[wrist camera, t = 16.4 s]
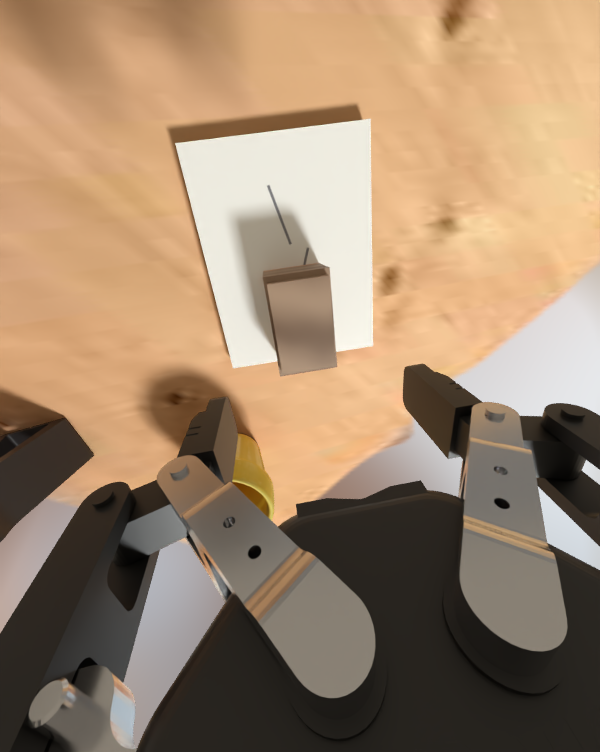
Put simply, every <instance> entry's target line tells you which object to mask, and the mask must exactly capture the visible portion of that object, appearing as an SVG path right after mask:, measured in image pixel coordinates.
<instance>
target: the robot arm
mask: <svg viewBox="0 0 600 752" xmlns="http://www.w3.org/2000/svg"><path fill="white" fill-rule="evenodd" d="M403 402H404V405H405V407H406V409H407V410H408V412H409V413H410V414H411V415H412V416H413V418H414V419H415V420H416V421H417V422H418V424H419V425H420V426H421V427H422V428H423V430H424V431H425V432H426V433H427V434H428V435H429V437H430V438H431V439H432V440H433V441H434V443H435V444H436V445H437V446H438V447H439V449H440V450H441V451H442V452H443V453H444V455H445V456H446V457H447V458H448V459H450V458H456V457H462V459H463V462H462V468H461V478H460V486H459V495H458V497H456V496H453V495H450V494H447V493H443V492H438V491H429V490H427V489H426V488H425V486H424V485H423V483H422V482H421V481H416V482H410V483H406V484H400V485H395V486H390V487H388V488H386V489H384V490H382V491H379V492H377V493H375V494H373V495H370V496H368V497H366V498H364V499H332V498H326V499H321V500H316V501H311V502H305V503H300V504H296V508H297V515H296V516H293V517H291V518H290V519H288V520H286V521H285V522H283V523H282V524H281V525H280V526H278V527H277V526H276V525H275V524H274V523H273V522H272V521H271V520H270V519H269V518H268V517H267V516H266V515H265V514H264V513H263V512H262V511H261V510H260V509H259V508H258V507H257V506H256V505H255V504H254V503H253V502H251V501H250V500H249V499H248V498H247V497H246V496H245V495H244V494H243V493H242V492H241V491H240V490H239V489H238V488H237V487H236V486H235V485H234V484H233V483H232V480H233V473H234V465H235V457H236V449H237V441H238V431H237V426H236V422H235V419H234V415H233V412H232V408H231V405H230V401H229V399H228V397H221V398H216V399H210V400H209V403H208V406H207V409H206V411H205V412H199V413H198V414H197V415H196V416H195V417H194V418H193V419H192V421H191V423H190V426H189V430H188V431H187V433H186V437H185V439H184V441H183V444H182V446H181V449H180V451H179V454H178V456H177V458H176V459H174V460H172V461H170V462H168V463H167V464H166V465H165V466H164V467H163V468H162V469H161V470H160V471H159V473H158V475H157V480H155V481H153V482H151V483H148V484H146V485H143V486H141V487H139V488H136V489H134V490H131V489H130V488H129V486H128V484H126V483H124V482H114V483H110V484H108V485H105V486H103V487H101V488H99V489H97V490H96V491H94V492H93V493H92V494H90V495H89V496H88V497H87V498H86V499H85V500H84V501H83V502H82V503H81V505H80V506H79V508H78V510H77V511H76V513H75V514H74V516H73V518H72V519H71V521H70V522H69V524H68V526H67V527H66V529H65V530H64V532H63V534H62V535H61V537H60V538H59V540H58V542H57V543H56V545H55V547H54V548H53V550H52V551H51V553H50V555H49V556H48V558H47V559H46V562H45V563H44V564H43V566H42V568H41V569H40V571H39V572H38V574H37V575H36V577H35V579H34V580H33V582H32V583H31V585H30V587H29V588H28V590H27V591H26V593H25V595H24V596H23V598H22V600H21V601H20V603H19V604H18V606H17V608H16V609H15V611H14V612H13V614H12V616H11V617H10V619H9V620H8V622H7V624H6V625H5V627H4V628H3V630H2V632H1V633H0V752H600V570H598V569H596V568H594V567H592V566H590V565H589V564H587V563H585V562H583V561H581V560H579V559H577V558H575V557H573V556H571V555H569V554H567V553H566V552H564V551H562V550H560V549H558V548H556V547H554V546H552V545H550V544H548V543H547V539H546V533H545V527H544V521H543V515H542V509H541V503H540V497H539V492H538V487H540V488H541V490H543V491H544V492H545V493H546V494H547V495H548V496H549V497H550V498H551V499H552V500H553V501H554V502H555V503H556V504H557V505H558V506H559V507H560V508H561V509H562V510H563V511H564V512H565V513H566V514H567V515H568V516H569V517H570V518H571V519H572V520H573V521H574V522H575V523H576V524H577V525H578V526H579V527H580V528H581V529H582V530H583V531H584V532H585V533H587V535H588V536H590V537H591V538H592V539H593V540H594V541H595V542H596V543H597V544H598V545H599V546H600V485H599V484H598V483H596V482H595V481H594V480H593V479H591V478H590V477H589V476H588V475H586V474H585V473H584V472H583V471H581V470H582V468H583V466H584V463H585V461H586V460H588V461H589V462H590V463H592V464H593V465H594V466H596V467H597V468H598V469H600V416H599V415H598V414H596V413H594V412H592V411H590V410H588V409H586V408H583V407H580V406H576V405H571V404H564V403H556V404H550V405H548V406H546V408H545V410H544V413H543V416H542V417H541V416H519V414H518V413H517V412H516V411H515V410H514V409H512V408H510V407H508V406H505V405H502V404H499V403H492V402H482V401H480V400H479V399H478V398H476V397H475V396H474V395H472V394H471V393H470V392H468V391H467V390H466V389H463V388H462V387H461V386H460V385H459V384H456V383H455V381H453V380H452V379H451V378H449V377H448V376H446V375H443V374H440V373H438V372H434V371H432V370H431V369H430V368H429V367H427V366H426V365H425V364H418V365H412V366H407V367H405V369H404V381H403ZM183 538H186V540H187V542H188V543H189V545H190V546H191V548H192V549H193V551H194V553H195V554H196V556H197V557H198V558H199V560H200V562H201V564H202V565H203V567H204V568H205V570H206V571H207V573H208V575H209V576H210V578H211V579H212V581H213V583H214V585H215V587H216V588H217V590H218V592H219V594H220V595H221V597H222V599H223V600H224V602H225V604H224V606H223V607H222V609H221V610H220V612H219V613H218V615H217V616H216V618H215V619H214V621H213V623H212V624H211V626H210V627H209V629H208V630H207V632H206V633H205V635H204V636H203V638H202V640H201V641H200V643H199V644H198V646H197V647H196V649H195V650H194V652H193V653H192V655H191V656H190V658H189V660H188V661H187V663H186V664H185V666H184V667H183V669H182V671H181V672H180V673H179V675H178V677H177V678H176V680H175V681H174V683H173V684H172V686H171V687H170V689H169V691H168V692H167V694H166V695H165V697H164V698H163V700H162V701H161V703H160V704H159V706H158V708H157V709H156V711H155V713H154V715H153V716H152V718H151V720H150V722H149V724H148V726H147V728H146V729H145V732H144V734H143V736H142V738H141V740H140V743H139V745H138V748H136V749H135V746H134V740H133V726H134V719H135V699H134V696H133V693H132V692H131V690H130V689H129V688H128V687H127V686H126V685H125V684H124V683H123V682H124V678H125V675H126V671H127V667H128V664H129V660H130V656H131V653H132V649H133V646H134V642H135V638H136V634H137V631H138V627H139V623H140V620H141V616H142V613H143V609H144V605H145V602H146V598H147V594H148V591H149V587H150V584H151V580H152V576H153V573H154V569H155V565H156V562H157V558H158V555H159V551H160V549H162V548H164V547H166V546H168V545H170V544H172V543H174V542H176V541H178V540H181V539H183Z"/></svg>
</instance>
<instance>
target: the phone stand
mask: <svg viewBox="0 0 600 752" xmlns="http://www.w3.org/2000/svg"><path fill="white" fill-rule="evenodd" d="M93 456H94V454H93V453H92V452H91V451H90V449H89V448H88V447H87V445H86V444H85V443H84V442H83V440H82V439H81V438H80V436H79V435H78V434H77V432H76V431H75V430H74V429H73V427H72V426H71V425H70V423H69V422H68V421H67V420H66V418H62V419H59V420H55V421H52V422H48V423H44V424H41V425H37V426H34V427H31V428H26V429H23V430H19V431H16V432H12V433H8V434H5V435H1V436H0V542H1V541H2V540H3V539H4V538H5V537H6V535H7V534H8V533H9V531H10V530H11V529H12V528H13V527H14V526H15V525H16V523H18V522H19V521H20V520H21V519H22V518H23V517H24V516H25V515H27V514H28V513H29V512H30V511H31V510H32V509H34V508H35V507H36V506H37V505H38V504H39V503H40V502H41V501H43V500H44V499H45V498H46V497H47V496H48V495H50V494H51V493H52V492H53V491H54V490H55V489H56V488H58V487H59V486H60V485H61V484H62V483H63V482H64V481H66V480H67V479H68V478H69V477H70V476H71V475H72V474H74V473H75V472H76V471H77V470H78V469H79V468H80V467H82V466H83V465H84V464H85V463H86V462H87V461H88V460H90V459H91V458H92V457H93Z"/></svg>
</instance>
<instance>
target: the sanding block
mask: <svg viewBox="0 0 600 752" xmlns="http://www.w3.org/2000/svg"><path fill="white" fill-rule="evenodd" d="M263 282H264V288H265V294H266V299H267V305H268V310H269V316H270V322H271V327H272V333H273V338H274V344H275V350H276V355H277V361H278V366H279V372H280V376H286V375H292V374H298V373H304V372H310V371H316V370H322V369H328V368H334V367H337V358H336V345H335V332H334V318H333V305H332V292H331V279H330V267H328V266H325V265H323V264H321V263H314V264H307V265H300V266H294V267H287V268H280V269H273V270H267V271H263Z"/></svg>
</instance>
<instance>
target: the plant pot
mask: <svg viewBox="0 0 600 752" xmlns="http://www.w3.org/2000/svg"><path fill="white" fill-rule="evenodd" d="M232 483H233V484H234V485H235V486H236V487H237V488H238V489H239V490H240V491H241V492H242V493H243V494H244V495H245V496H246V497H247V498H248V499H249V500H250V501H251V502H253V503H254V504H255V505H256V506H257V507H258V508H259V509H260V510H261V511H262V512H263V513H264V514H265V515H266V516H267V517H268V518H269V519H270V520H271V521H272V518H273V514H274V490H273V484H272V481H271V479H270V477H269V475H268V474H267V473H266V471H265V469H264V465H263V461H262V457H261V453H260V449H259V446H258V445H257V443H256V442H255V441H254V440H253V439H252V438H250V437H249V436H246V435H244V434H239V433H238V441H237V449H236V457H235V465H234V473H233V480H232Z"/></svg>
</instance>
